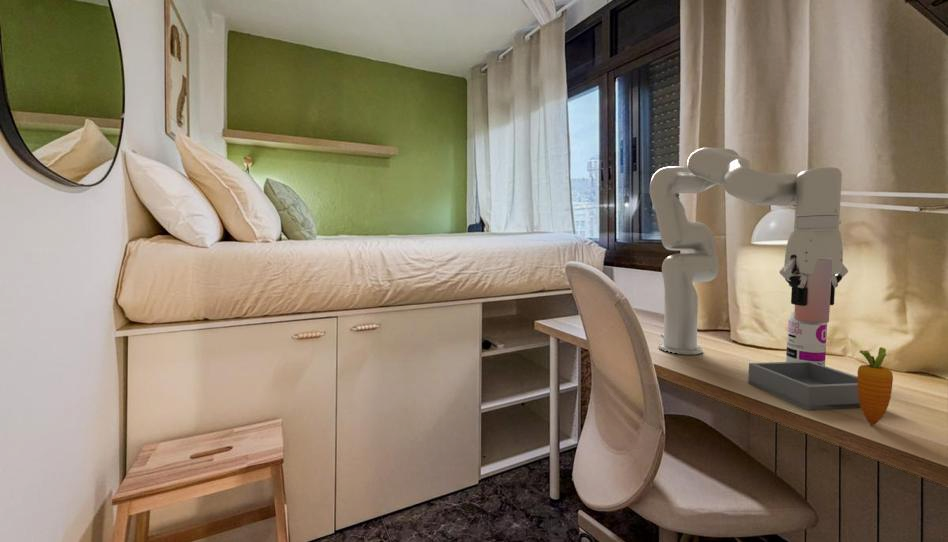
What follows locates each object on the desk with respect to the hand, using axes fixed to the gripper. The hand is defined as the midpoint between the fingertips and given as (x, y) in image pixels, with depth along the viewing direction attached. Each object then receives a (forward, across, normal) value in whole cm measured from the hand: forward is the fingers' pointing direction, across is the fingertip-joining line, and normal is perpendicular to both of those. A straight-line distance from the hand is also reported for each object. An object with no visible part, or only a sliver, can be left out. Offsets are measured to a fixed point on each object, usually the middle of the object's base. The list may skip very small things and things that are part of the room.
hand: (812, 303), depth 87 cm
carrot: (+21, +2, +15) cm, 26 cm away
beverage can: (+5, 0, 0) cm, 5 cm away
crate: (+21, 0, 0) cm, 21 cm away
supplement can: (+21, -16, -17) cm, 32 cm away
